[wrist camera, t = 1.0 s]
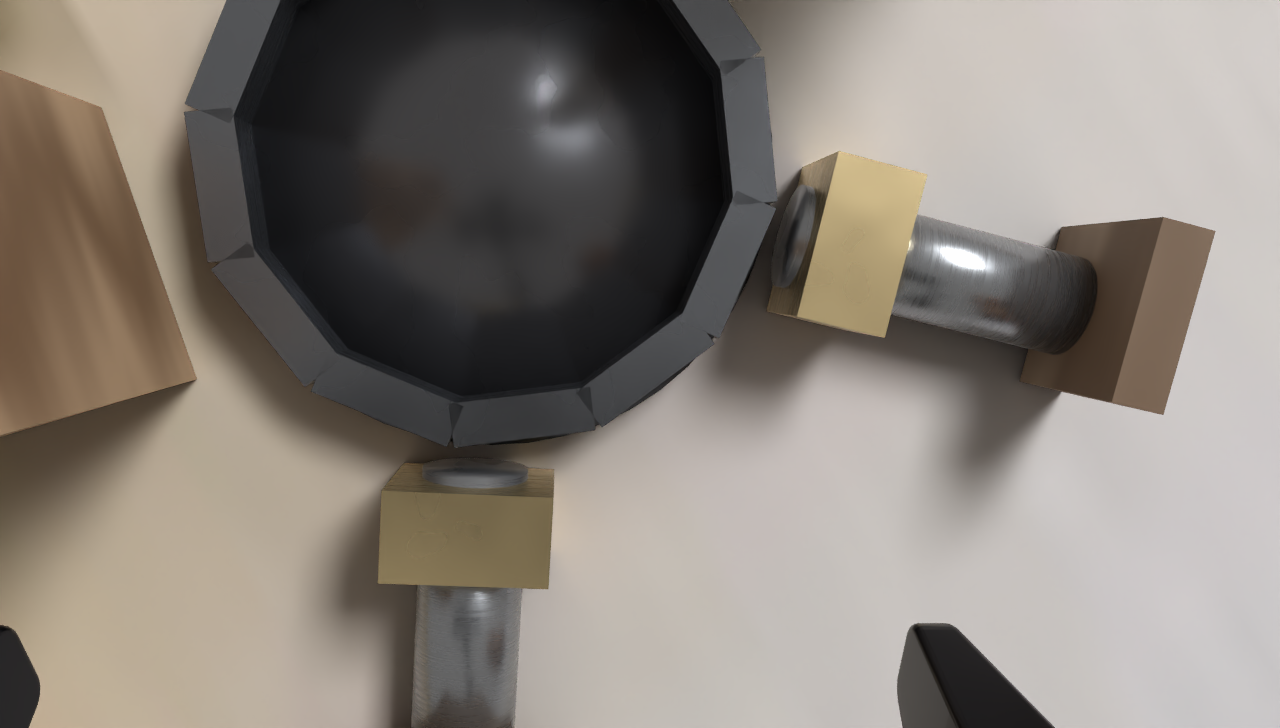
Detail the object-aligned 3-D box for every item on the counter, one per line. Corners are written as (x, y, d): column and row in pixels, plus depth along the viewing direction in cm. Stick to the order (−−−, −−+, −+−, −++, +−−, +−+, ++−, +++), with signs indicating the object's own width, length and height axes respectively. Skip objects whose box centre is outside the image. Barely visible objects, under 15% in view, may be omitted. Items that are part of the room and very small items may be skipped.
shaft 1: (544, 781, 24) (541, 882, 20) (382, 778, 23) (347, 881, 19) (562, 461, 23) (563, 500, 19) (396, 454, 23) (362, 492, 19)
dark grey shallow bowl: (637, 523, 23) (643, 541, 22) (118, 311, 22) (84, 313, 20) (856, 27, 23) (879, 8, 21) (336, -228, 21) (318, -269, 20)
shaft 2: (1105, 238, 24) (1215, 230, 20) (1062, 391, 24) (1162, 414, 20) (796, 157, 23) (847, 132, 19) (756, 317, 23) (797, 325, 19)
